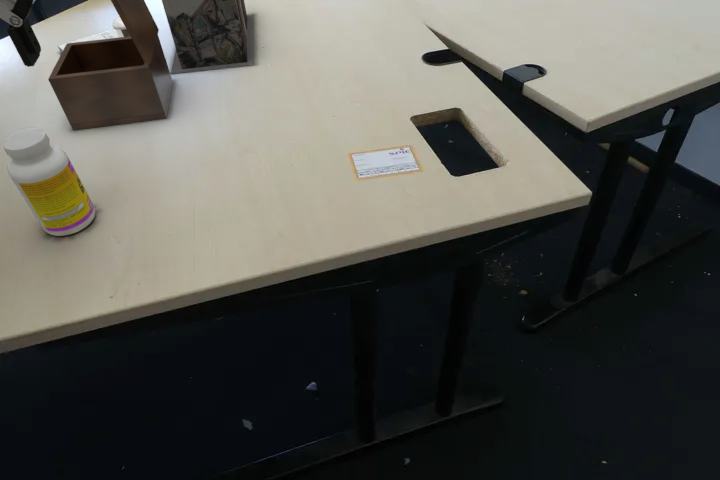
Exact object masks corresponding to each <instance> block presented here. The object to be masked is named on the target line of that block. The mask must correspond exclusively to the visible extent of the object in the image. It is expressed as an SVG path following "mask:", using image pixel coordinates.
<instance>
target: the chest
mask: <svg viewBox="0 0 720 480" xmlns="http://www.w3.org/2000/svg"><path fill="white" fill-rule="evenodd" d="M66 43H67V44H66V46H65V48H64V50H63V52H62V53H60V56H59V57H58V60H57V61H56V63H55V66H54V67H53V69H52V71H51V72H50V75H49V76H48V82H49V84H50V86H51V88H52V91H53V92H54V94H55V97H56V99H57V100H58V103H59V105H60V107H61V109H62V110H63V112H64V115H65V117H66V119H67V120H68V123H69V125H70V128H71V129H72V131H79V130H85V129H94V128H103V127H108V126H109V127H110V126H117V125H125V124H133V123H140V122H148V121H157V120H164V119H167V117H168V111H169V107H170V100H171V93H172V87H173V82H174V81H173V78H172V75H171V71H170V70H169V66H168V62H167V59H166V56H165V53H164V49H163V46H162V44H161V40H160V37H159V34H158V35H157V39H156V44H155V48H154V52H153V56H152V61H151V64H148V65H146V64H145V62H144V60H143V59H142V57H141V55H140V53H139V51H138V49H137V48H136V46H135V44H134V42H133V40H132V38H131V37H130V36H129V37H120V38H111V39H102V40H93V41H84V42H75V43H68V42H66Z"/></svg>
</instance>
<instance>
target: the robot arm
mask: <svg viewBox="0 0 720 480" xmlns="http://www.w3.org/2000/svg"><path fill="white" fill-rule="evenodd" d="M35 3H36V0H0V19H1V20H3V21H4V22H6V23H8V28H7V30H6V31H7V32H6V33H7V34H8V37H9V38H10V40H11V42H12V44H13V46H14V48H15V49H16V52H17V53H18V55H19V57H20V59H21V61H22V64H23V65H24V66H26V67H28V68H29V67H34V66H35V65H36V63H37V61H38V60H39V58H40V56H41V53H42V46H41V44H40V42H39V39H38V38H37V36H36V33H35V32H34V30H33V27H32V25H31V23H30V21H29V19H28V17H29V15H30V13H31V11H32V9H33V7H34V5H35Z"/></svg>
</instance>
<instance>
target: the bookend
mask: <svg viewBox="0 0 720 480" xmlns="http://www.w3.org/2000/svg"><path fill="white" fill-rule="evenodd" d="M161 3H162V6H163V11H164V13H165V16H166V19H167V23H168V27H169V31H170V33H171V34H170V35H171V38H172V41H173V43H174V47H175V51H174V55H173V60H172V61H173V62H172V65H171V69H170V75H171V74H172V75H173V74H181V73H183V74H184V73H190V72H200V71H209V70H218V69H219V70H220V69H227V68H236V67H237V68H239V67H245V66H246V67H247V66H254V65H255V61H256V60H255V15H254V14H247V9H246V4H245V0H161Z"/></svg>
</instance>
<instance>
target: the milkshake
mask: <svg viewBox="0 0 720 480" xmlns="http://www.w3.org/2000/svg"><path fill="white" fill-rule="evenodd" d="M112 29H114V30H115V32H116V34H117V36H118V38H120V37H129V36H130V35H129V33H128V31H127V29H126V27H125V26H124V24H123V22H122V20H121V18H120V16H119V15H118V17H116V18H114V19H113V22H112Z"/></svg>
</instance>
